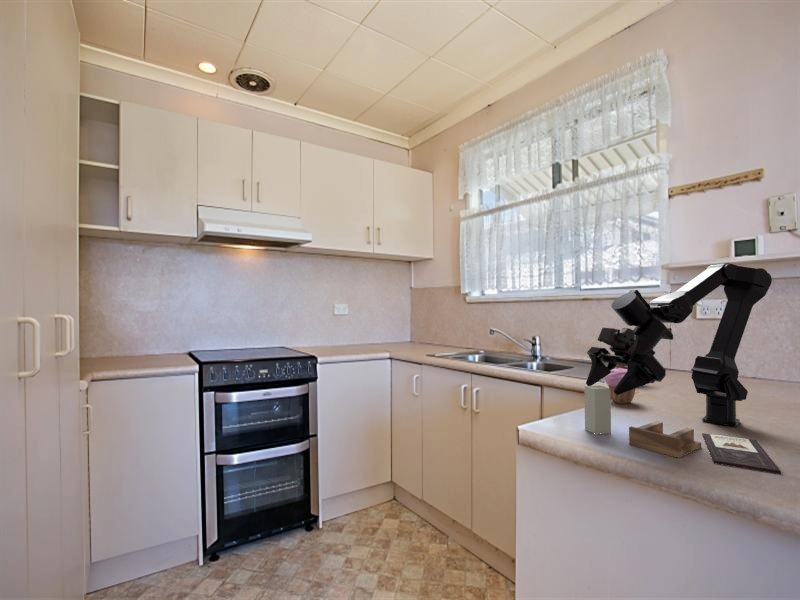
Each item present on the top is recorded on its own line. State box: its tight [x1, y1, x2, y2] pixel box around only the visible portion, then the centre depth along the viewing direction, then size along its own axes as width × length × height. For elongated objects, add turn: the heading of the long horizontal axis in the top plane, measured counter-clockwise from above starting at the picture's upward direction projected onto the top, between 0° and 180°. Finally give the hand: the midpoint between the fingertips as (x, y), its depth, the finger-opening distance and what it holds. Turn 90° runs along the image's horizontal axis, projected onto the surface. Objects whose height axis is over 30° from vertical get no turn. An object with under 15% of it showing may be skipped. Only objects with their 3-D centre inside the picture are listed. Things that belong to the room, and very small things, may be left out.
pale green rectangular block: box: [584, 384, 612, 435], centre depth 91 cm, size 4×4×10 cm
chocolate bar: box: [701, 432, 782, 475], centre depth 78 cm, size 9×1×18 cm
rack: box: [628, 420, 702, 459], centre depth 81 cm, size 10×9×4 cm
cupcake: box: [604, 368, 637, 405], centre depth 118 cm, size 9×9×10 cm
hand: (600, 389), depth 91 cm, fingers open, 9 cm apart
